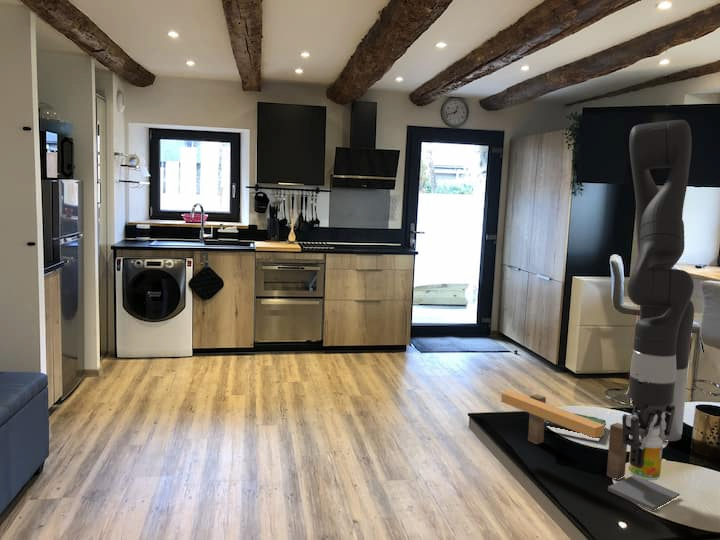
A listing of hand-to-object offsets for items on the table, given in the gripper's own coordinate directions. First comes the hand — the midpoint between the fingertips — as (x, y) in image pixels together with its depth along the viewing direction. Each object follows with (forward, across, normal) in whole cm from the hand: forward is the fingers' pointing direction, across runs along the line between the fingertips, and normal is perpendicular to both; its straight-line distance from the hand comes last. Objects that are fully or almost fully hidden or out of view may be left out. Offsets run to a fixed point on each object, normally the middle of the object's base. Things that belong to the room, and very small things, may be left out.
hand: (645, 461), depth 109 cm
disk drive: (+7, -16, -28) cm, 33 cm away
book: (+6, 0, 0) cm, 6 cm away
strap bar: (-5, +7, -17) cm, 19 cm away
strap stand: (+6, -2, -17) cm, 18 cm away
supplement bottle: (+3, 0, 0) cm, 3 cm away
